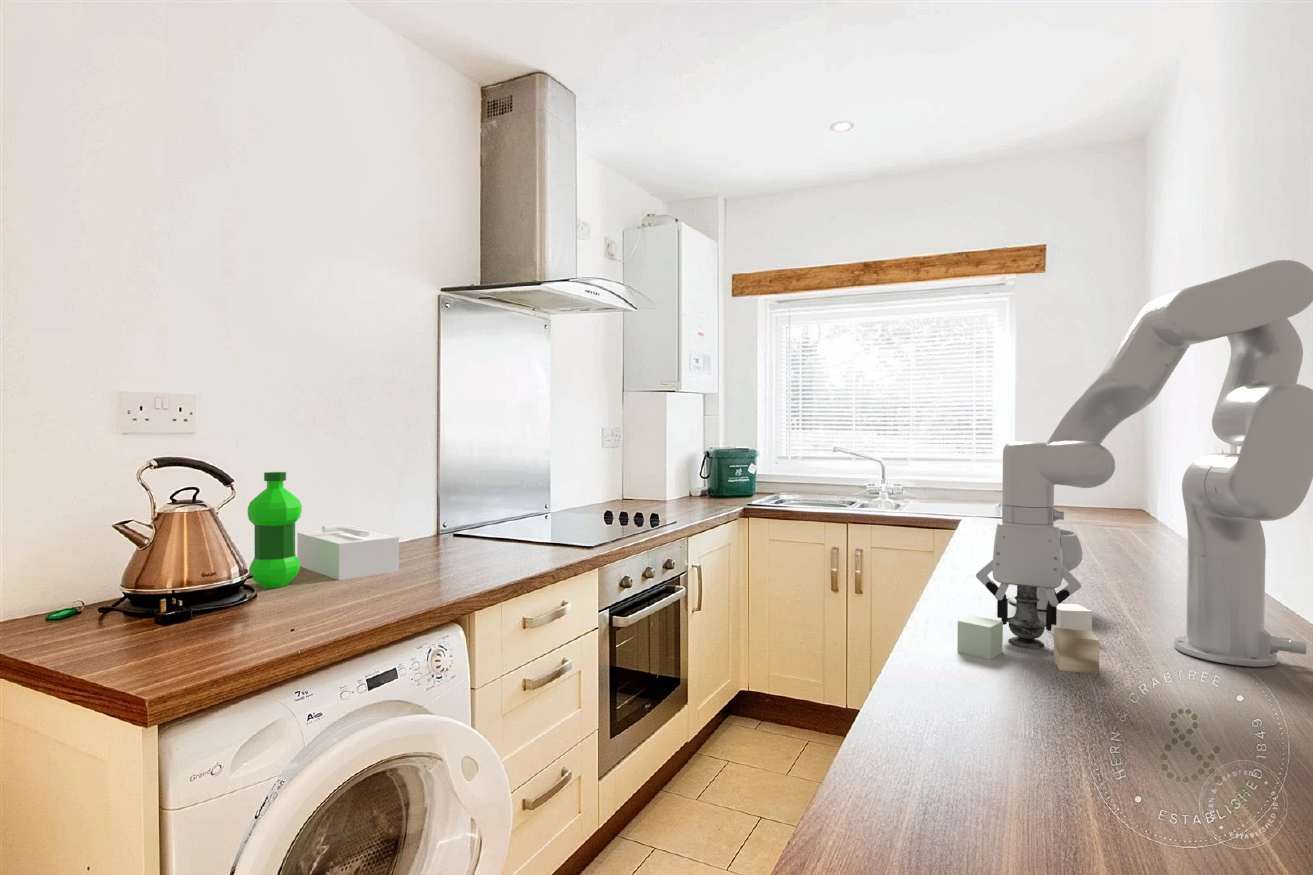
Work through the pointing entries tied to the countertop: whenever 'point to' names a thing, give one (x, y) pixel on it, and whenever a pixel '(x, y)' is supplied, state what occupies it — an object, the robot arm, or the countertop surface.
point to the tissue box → (347, 552)
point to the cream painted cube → (1073, 618)
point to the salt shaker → (1026, 619)
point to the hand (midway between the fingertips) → (1026, 624)
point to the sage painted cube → (980, 637)
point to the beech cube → (1076, 650)
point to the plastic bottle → (274, 533)
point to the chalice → (1070, 561)
